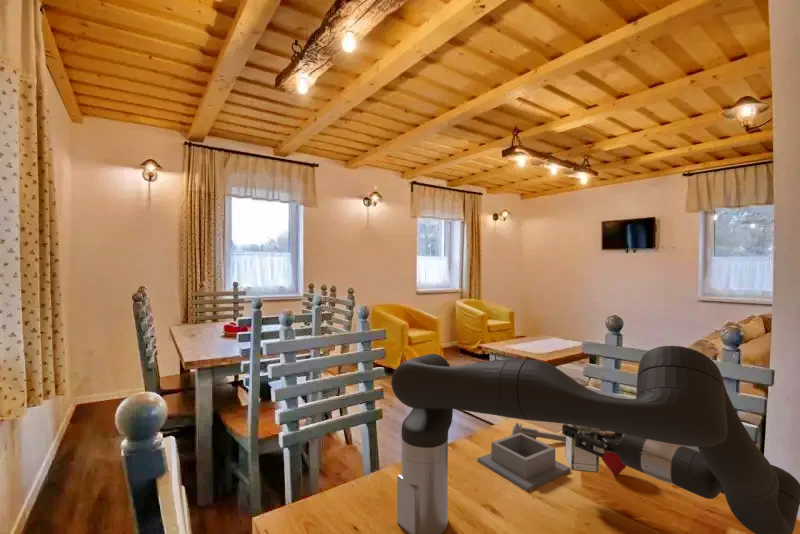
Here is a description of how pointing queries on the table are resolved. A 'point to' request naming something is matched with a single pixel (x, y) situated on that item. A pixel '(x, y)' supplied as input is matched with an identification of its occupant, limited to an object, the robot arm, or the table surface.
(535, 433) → the caliper
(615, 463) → the strawberry
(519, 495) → the table surface
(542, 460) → the holder
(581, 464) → the syrup box
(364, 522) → the table surface
